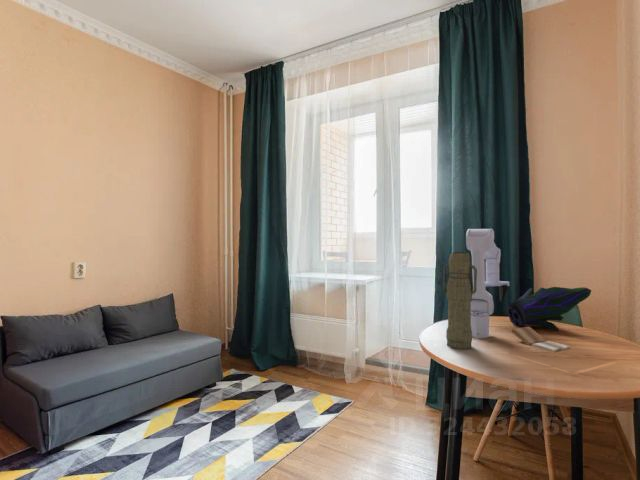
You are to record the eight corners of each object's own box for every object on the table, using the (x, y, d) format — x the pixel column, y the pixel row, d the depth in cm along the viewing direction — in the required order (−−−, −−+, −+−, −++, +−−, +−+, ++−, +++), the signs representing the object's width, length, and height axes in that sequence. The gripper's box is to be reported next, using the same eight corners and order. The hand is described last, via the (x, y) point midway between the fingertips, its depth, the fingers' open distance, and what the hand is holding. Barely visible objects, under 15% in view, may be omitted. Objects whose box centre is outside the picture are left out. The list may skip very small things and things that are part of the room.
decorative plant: (512, 343, 175) (573, 326, 175) (537, 335, 151) (608, 315, 151) (493, 301, 183) (552, 285, 183) (514, 287, 159) (581, 269, 160)
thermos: (476, 351, 132) (477, 252, 132) (441, 347, 136) (442, 252, 136) (476, 344, 140) (477, 251, 140) (443, 341, 145) (444, 251, 144)
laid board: (552, 353, 130) (552, 349, 130) (531, 347, 137) (531, 343, 137) (569, 349, 135) (569, 346, 135) (547, 343, 142) (547, 340, 142)
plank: (528, 345, 138) (529, 343, 138) (511, 331, 145) (512, 329, 144) (545, 342, 143) (546, 340, 142) (527, 328, 149) (529, 326, 149)
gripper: (504, 270, 176) (505, 298, 178) (473, 272, 177) (474, 300, 178) (511, 273, 169) (511, 302, 170) (479, 274, 170) (479, 303, 171)
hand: (492, 301), depth 174 cm, fingers open, 7 cm apart
